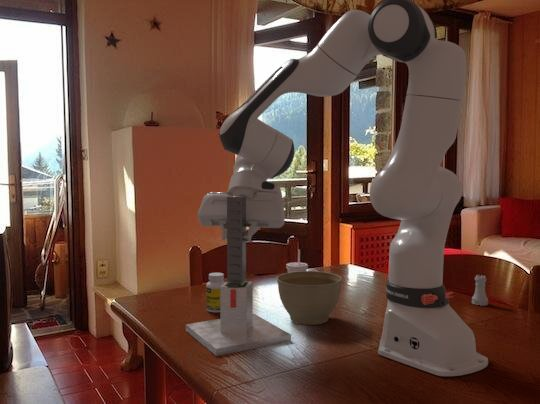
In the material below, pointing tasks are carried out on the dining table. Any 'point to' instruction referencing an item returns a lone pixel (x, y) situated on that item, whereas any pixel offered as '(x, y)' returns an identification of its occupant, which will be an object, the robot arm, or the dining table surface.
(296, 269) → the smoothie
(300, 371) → the dining table surface
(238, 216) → the post
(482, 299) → the rook chess piece
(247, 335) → the stand
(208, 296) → the supplement bottle
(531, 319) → the dining table surface
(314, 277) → the planter bowl
